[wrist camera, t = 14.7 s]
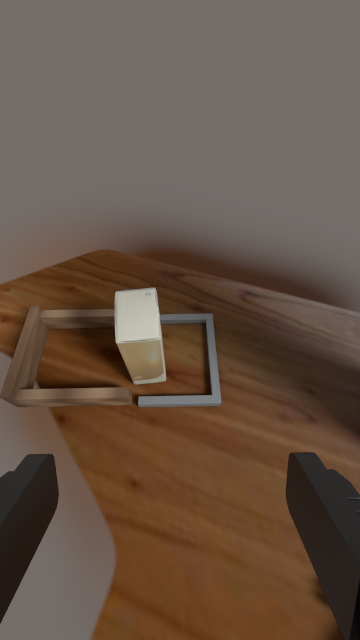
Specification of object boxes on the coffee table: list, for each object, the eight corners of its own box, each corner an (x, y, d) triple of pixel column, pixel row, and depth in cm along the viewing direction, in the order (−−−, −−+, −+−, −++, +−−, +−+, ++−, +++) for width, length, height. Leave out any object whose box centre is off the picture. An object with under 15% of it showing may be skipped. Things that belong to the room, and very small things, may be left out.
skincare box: (132, 343, 39) (114, 288, 28) (162, 340, 39) (156, 284, 29) (133, 387, 35) (113, 343, 25) (167, 383, 36) (161, 338, 25)
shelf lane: (137, 320, 41) (133, 304, 37) (131, 404, 34) (125, 394, 31) (42, 321, 41) (30, 306, 37) (17, 406, 34) (-1, 397, 31)
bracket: (211, 317, 41) (212, 313, 40) (220, 405, 34) (221, 403, 33) (144, 318, 41) (143, 314, 40) (139, 407, 34) (138, 404, 33)
